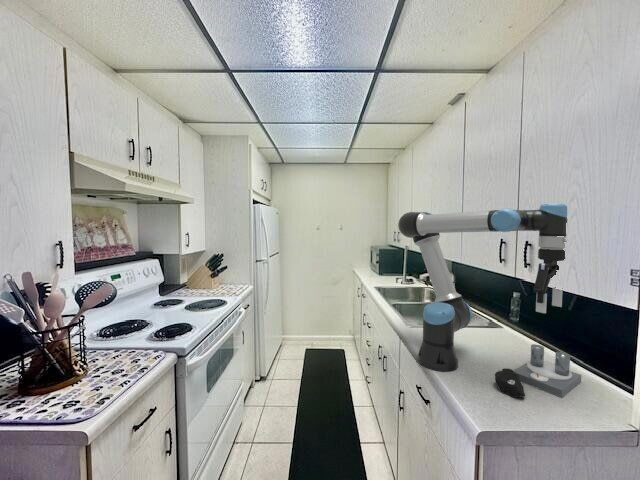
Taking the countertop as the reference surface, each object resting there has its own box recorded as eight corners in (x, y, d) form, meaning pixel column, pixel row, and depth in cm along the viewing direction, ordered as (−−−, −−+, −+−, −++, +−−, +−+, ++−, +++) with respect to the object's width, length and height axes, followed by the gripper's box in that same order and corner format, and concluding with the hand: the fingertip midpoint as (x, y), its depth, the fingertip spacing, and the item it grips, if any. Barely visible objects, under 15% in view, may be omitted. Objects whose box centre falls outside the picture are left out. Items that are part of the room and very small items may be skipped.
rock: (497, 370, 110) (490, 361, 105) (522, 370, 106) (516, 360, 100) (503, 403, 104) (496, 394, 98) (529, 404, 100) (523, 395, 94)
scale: (561, 397, 97) (562, 387, 97) (511, 377, 110) (511, 368, 109) (581, 381, 107) (581, 372, 107) (533, 365, 120) (533, 356, 119)
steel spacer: (566, 377, 103) (567, 357, 103) (552, 372, 107) (553, 353, 106) (571, 374, 105) (571, 354, 105) (557, 369, 109) (558, 350, 108)
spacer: (540, 368, 110) (541, 349, 109) (528, 364, 113) (529, 346, 113) (545, 365, 112) (546, 347, 111) (533, 361, 115) (533, 343, 115)
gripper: (550, 251, 93) (547, 318, 94) (578, 247, 107) (575, 306, 108) (523, 249, 99) (520, 312, 101) (553, 246, 113) (550, 301, 114)
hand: (549, 309), depth 104 cm, fingers open, 13 cm apart
